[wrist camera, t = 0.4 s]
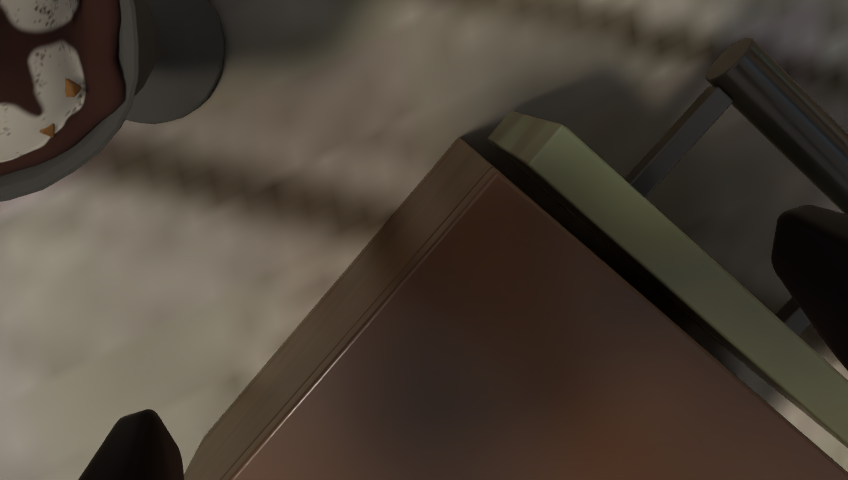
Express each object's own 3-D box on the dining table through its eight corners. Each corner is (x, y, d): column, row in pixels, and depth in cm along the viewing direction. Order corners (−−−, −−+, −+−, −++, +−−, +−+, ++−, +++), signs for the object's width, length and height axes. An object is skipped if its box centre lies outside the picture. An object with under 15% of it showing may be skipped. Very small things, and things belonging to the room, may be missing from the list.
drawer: (618, -15, 21) (721, -58, 14) (878, 237, 23) (1070, 301, 17) (259, 403, 24) (207, 529, 17) (524, 594, 26) (570, 772, 19)
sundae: (214, -97, 21) (-202, -502, 6) (276, 122, 22) (58, 205, 8) (4, -44, 21) (-891, -326, 6) (80, 170, 22) (-498, 339, 8)
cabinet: (459, 136, 23) (497, 170, 14) (738, 377, 25) (909, 525, 17) (203, 437, 25) (106, 620, 16) (484, 634, 27) (524, 879, 19)
